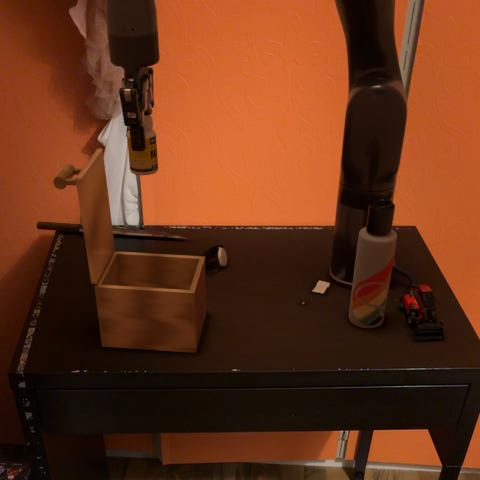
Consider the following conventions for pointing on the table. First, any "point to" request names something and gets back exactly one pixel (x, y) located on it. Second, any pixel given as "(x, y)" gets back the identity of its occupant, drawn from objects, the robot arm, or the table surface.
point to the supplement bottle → (148, 158)
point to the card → (321, 287)
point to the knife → (116, 230)
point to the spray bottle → (373, 266)
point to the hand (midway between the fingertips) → (142, 144)
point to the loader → (422, 313)
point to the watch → (219, 261)
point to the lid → (92, 210)
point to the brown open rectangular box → (152, 301)
